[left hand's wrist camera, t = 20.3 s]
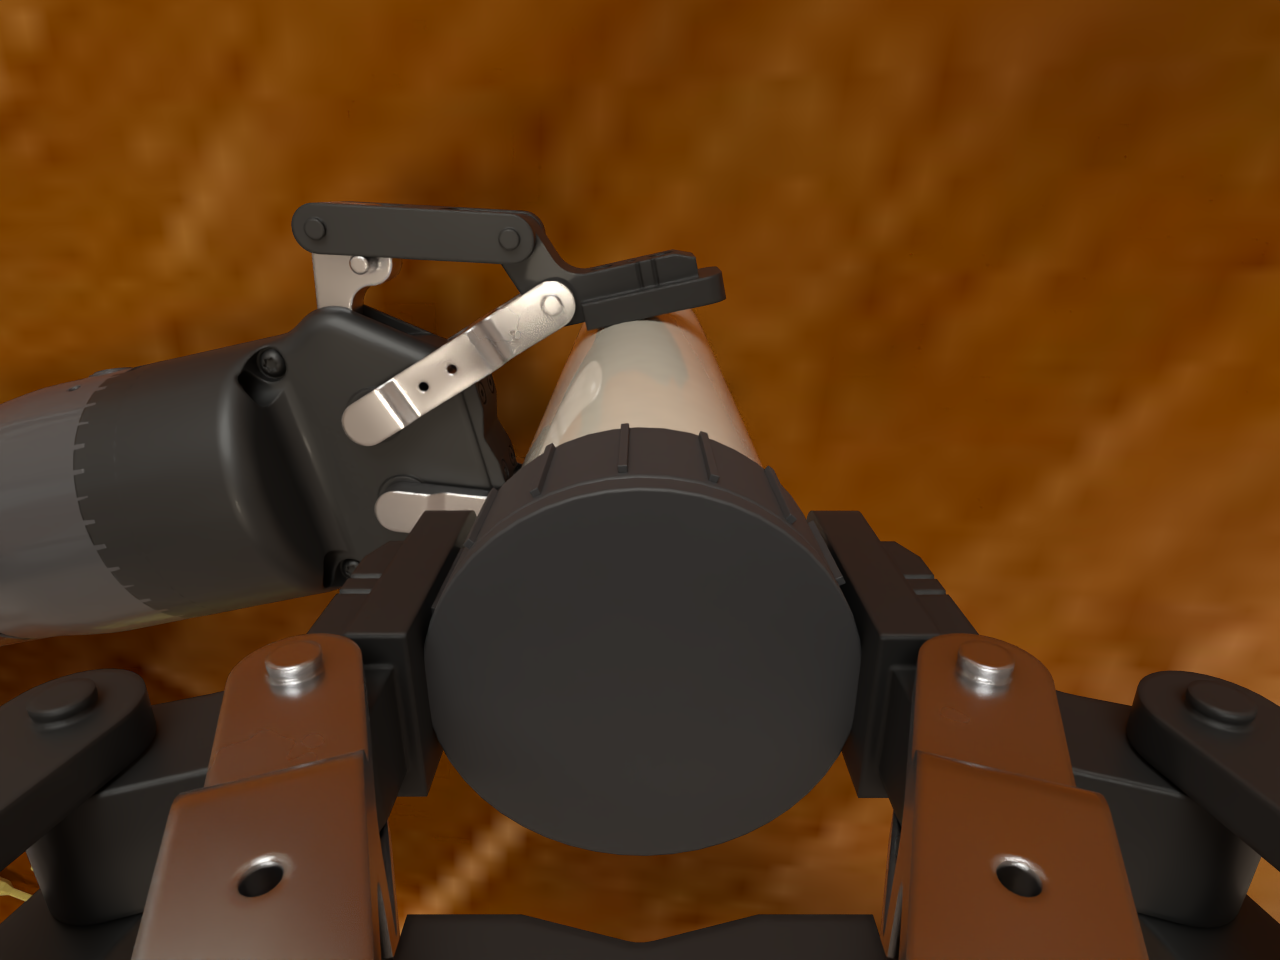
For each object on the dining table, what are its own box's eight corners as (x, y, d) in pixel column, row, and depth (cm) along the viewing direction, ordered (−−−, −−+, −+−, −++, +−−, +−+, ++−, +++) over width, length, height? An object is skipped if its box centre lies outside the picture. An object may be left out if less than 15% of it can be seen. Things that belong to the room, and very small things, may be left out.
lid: (404, 480, 10) (343, 555, 8) (781, 376, 10) (819, 427, 8) (530, 772, 12) (507, 894, 10) (853, 698, 11) (900, 810, 9)
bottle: (668, 434, 28) (714, 835, 11) (556, 380, 27) (408, 717, 10) (728, 323, 27) (896, 579, 9) (611, 262, 26) (550, 416, 8)
